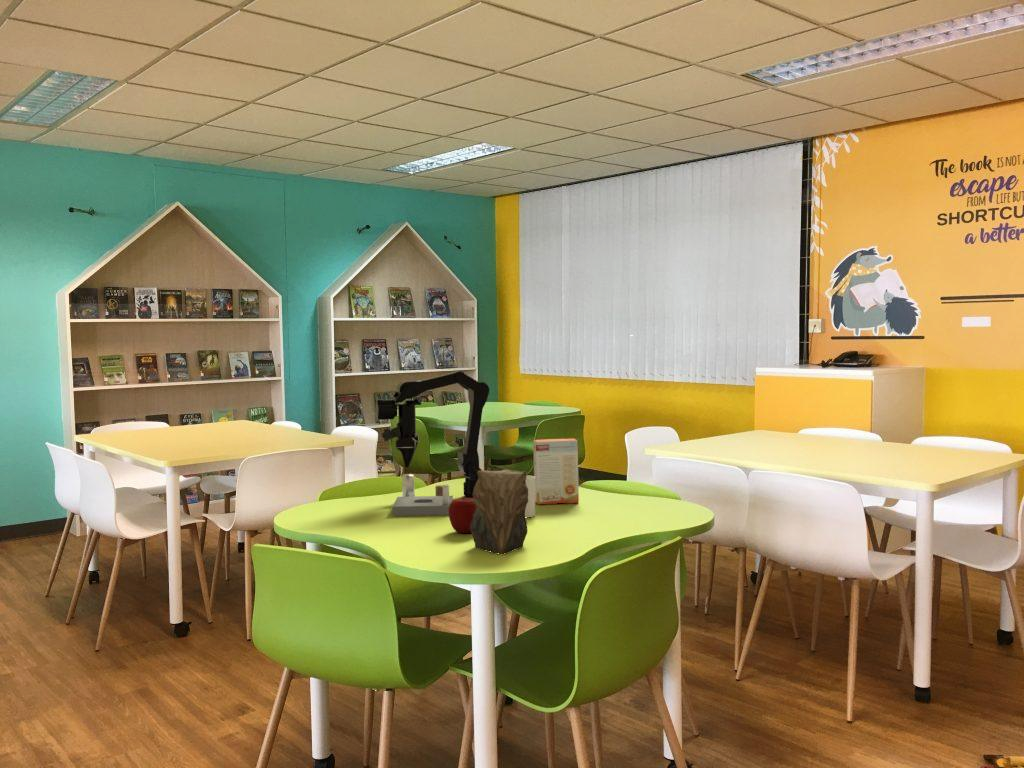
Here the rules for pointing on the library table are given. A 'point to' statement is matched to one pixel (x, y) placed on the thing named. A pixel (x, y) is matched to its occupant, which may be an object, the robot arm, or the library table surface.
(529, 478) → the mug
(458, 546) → the library table surface
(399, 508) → the grey peg base
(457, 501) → the apple
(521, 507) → the owl
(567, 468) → the cracker box
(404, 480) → the long pin
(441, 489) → the short pin
